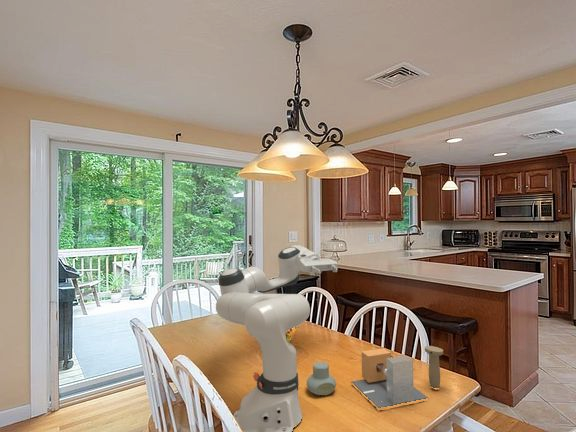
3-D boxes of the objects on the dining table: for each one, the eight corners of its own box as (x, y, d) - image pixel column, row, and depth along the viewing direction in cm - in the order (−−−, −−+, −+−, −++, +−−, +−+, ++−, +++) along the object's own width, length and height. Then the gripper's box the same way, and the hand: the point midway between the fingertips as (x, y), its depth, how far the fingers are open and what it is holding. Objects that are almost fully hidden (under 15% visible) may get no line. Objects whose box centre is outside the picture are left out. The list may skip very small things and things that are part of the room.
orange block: (368, 382, 125) (368, 356, 125) (362, 376, 130) (361, 351, 130) (391, 378, 128) (390, 352, 128) (384, 373, 132) (383, 348, 133)
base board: (378, 411, 109) (378, 407, 109) (351, 384, 128) (351, 381, 128) (428, 400, 115) (428, 397, 115) (395, 376, 133) (395, 373, 133)
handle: (428, 383, 127) (428, 344, 128) (446, 389, 123) (445, 349, 123) (423, 388, 124) (422, 348, 124) (440, 394, 119) (439, 353, 120)
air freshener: (311, 399, 117) (311, 371, 117) (303, 388, 125) (303, 362, 125) (339, 394, 120) (338, 367, 120) (330, 384, 128) (329, 358, 128)
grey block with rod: (393, 404, 111) (393, 363, 111) (369, 383, 126) (368, 346, 126) (413, 400, 113) (412, 359, 114) (387, 380, 128) (386, 344, 129)
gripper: (326, 265, 169) (344, 276, 157) (293, 268, 158) (309, 279, 147) (328, 254, 168) (346, 263, 156) (295, 256, 157) (311, 266, 146)
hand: (328, 271), depth 151 cm, fingers open, 8 cm apart
